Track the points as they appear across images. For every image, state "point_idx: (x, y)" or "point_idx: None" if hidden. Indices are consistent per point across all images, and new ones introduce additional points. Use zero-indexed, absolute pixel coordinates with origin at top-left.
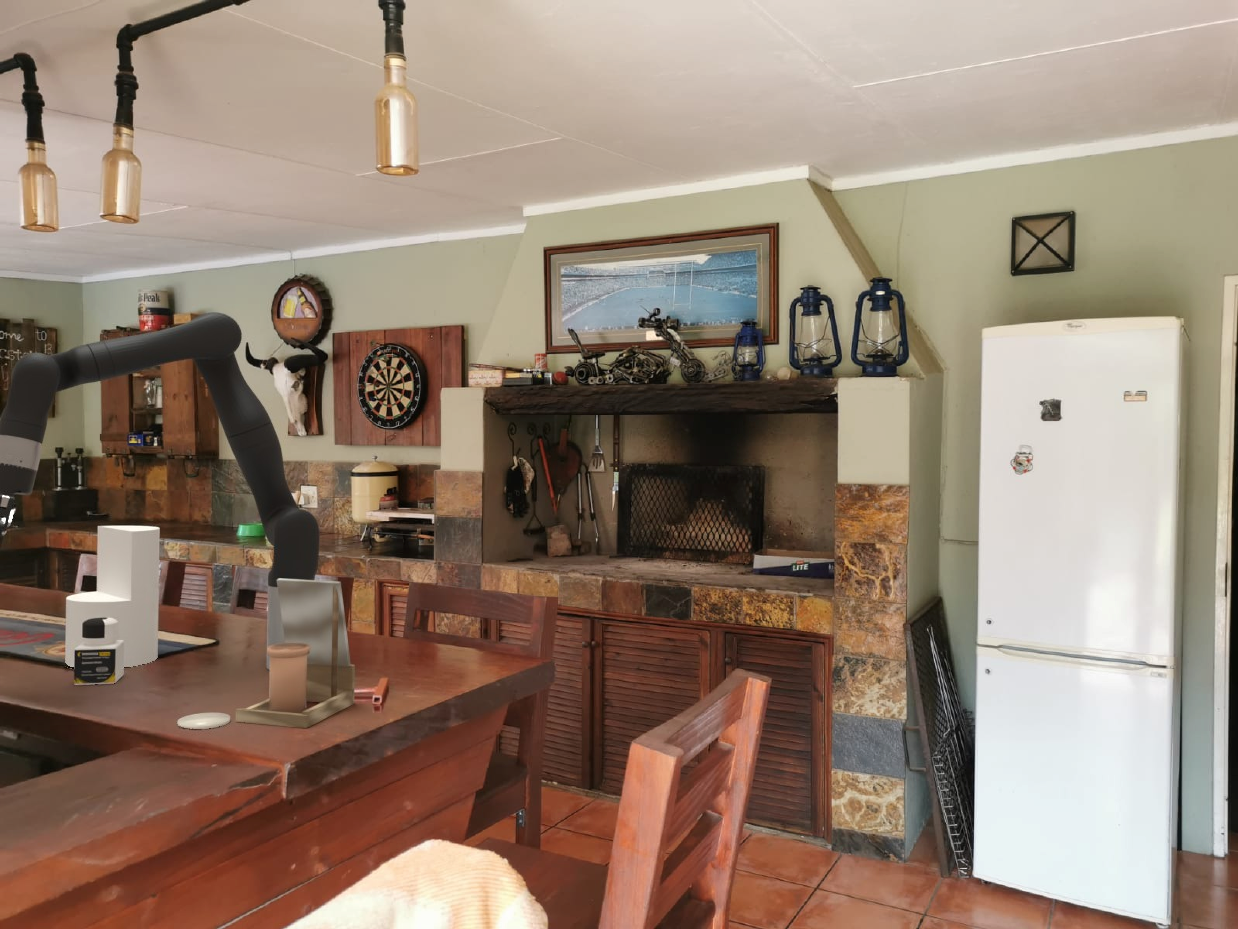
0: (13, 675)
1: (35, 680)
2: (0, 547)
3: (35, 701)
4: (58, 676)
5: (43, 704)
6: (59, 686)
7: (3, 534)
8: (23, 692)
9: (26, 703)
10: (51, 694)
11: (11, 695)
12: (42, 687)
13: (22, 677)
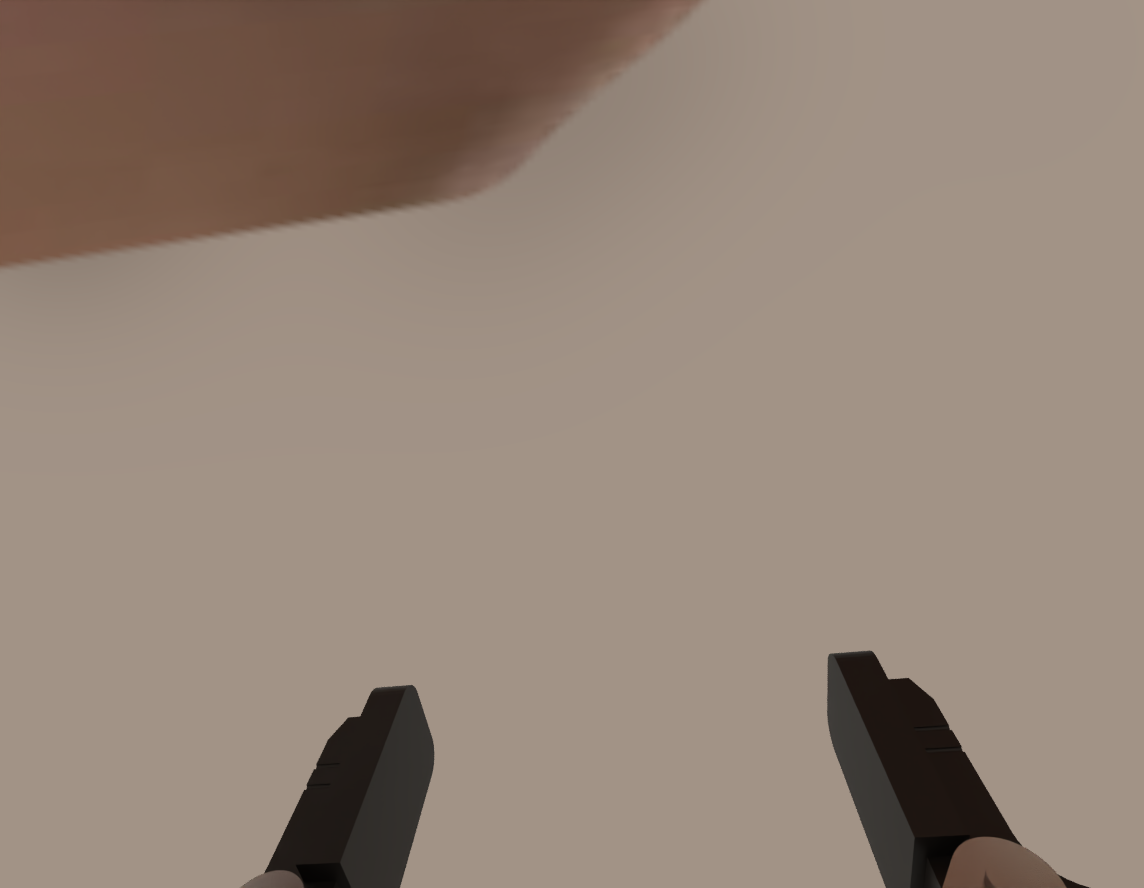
0: (28, 253)
1: (123, 156)
2: (903, 716)
3: (502, 108)
4: (37, 64)
5: (562, 71)
6: (249, 38)
7: (1024, 855)
8: (340, 173)
9: (525, 138)
10: (397, 57)
11: (382, 208)
12: (260, 110)
13: (65, 214)
